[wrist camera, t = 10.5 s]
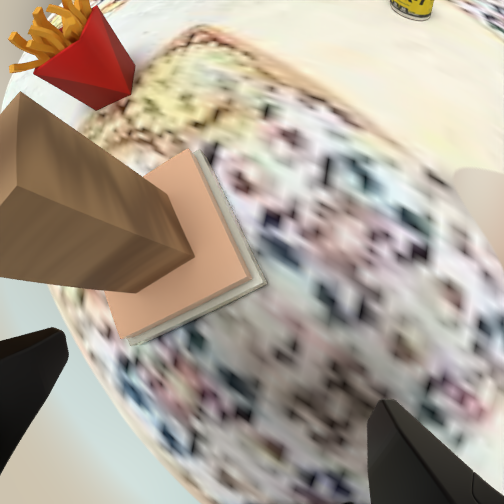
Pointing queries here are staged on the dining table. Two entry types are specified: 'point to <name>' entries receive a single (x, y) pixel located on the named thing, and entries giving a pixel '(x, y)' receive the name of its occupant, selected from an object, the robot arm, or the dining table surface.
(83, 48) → the french fries
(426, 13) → the supplement bottle
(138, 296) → the tile pedestal
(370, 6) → the dining table surface
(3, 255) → the walnut block
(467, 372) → the dining table surface
